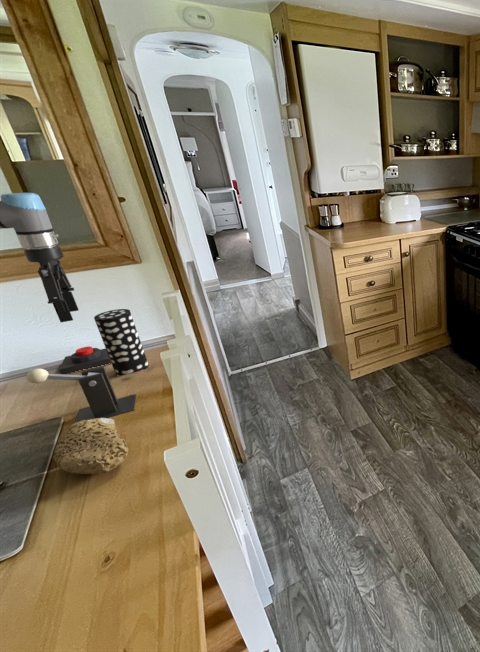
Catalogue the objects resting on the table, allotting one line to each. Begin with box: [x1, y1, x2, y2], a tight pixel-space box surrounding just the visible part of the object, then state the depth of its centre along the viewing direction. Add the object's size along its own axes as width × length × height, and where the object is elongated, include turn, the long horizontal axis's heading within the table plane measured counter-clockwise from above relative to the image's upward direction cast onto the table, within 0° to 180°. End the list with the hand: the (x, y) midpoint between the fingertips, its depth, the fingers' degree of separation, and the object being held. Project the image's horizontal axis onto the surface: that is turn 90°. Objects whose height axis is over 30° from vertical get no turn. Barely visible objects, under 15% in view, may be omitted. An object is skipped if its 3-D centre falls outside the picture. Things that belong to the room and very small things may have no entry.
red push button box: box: [58, 347, 111, 375], centre depth 126 cm, size 12×10×4 cm
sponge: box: [52, 418, 129, 475], centre depth 86 cm, size 13×8×20 cm
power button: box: [74, 345, 94, 356], centre depth 125 cm, size 4×4×2 cm
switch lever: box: [26, 368, 103, 384], centre depth 95 cm, size 13×4×4 cm, turn 126°
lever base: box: [74, 366, 137, 423], centre depth 100 cm, size 12×9×13 cm
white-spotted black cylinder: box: [93, 308, 150, 377], centre depth 119 cm, size 8×8×20 cm
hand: (70, 315), depth 120 cm, fingers open, 9 cm apart
